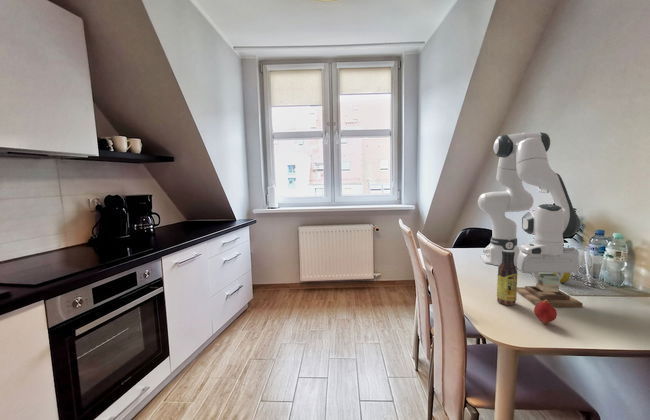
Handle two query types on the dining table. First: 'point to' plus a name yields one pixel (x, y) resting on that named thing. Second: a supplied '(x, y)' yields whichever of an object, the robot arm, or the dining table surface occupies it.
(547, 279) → the block
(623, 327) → the dining table surface
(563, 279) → the lemon
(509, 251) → the sauce bottle
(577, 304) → the socket board
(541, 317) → the red bumpy ovoid
